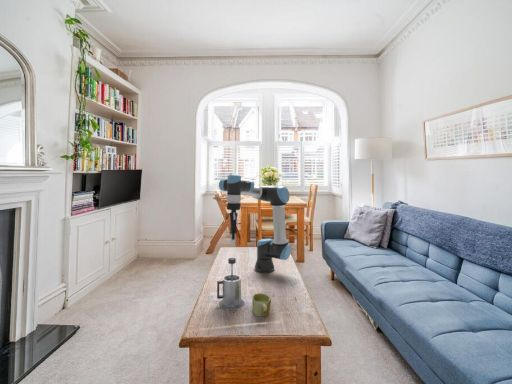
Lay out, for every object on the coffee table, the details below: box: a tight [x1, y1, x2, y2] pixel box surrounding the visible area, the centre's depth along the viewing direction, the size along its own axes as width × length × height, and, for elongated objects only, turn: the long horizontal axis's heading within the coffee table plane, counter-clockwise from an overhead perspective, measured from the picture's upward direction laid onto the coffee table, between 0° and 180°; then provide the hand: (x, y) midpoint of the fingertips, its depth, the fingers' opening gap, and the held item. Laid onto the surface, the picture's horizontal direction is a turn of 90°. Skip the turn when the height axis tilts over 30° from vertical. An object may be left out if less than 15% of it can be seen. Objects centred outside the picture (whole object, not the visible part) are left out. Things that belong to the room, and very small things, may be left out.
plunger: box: [227, 257, 237, 281], centre depth 136 cm, size 7×7×13 cm
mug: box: [251, 292, 272, 317], centre depth 127 cm, size 12×10×10 cm
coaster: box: [218, 298, 245, 311], centre depth 137 cm, size 14×14×1 cm
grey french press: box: [216, 274, 242, 308], centre depth 137 cm, size 13×10×14 cm
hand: (232, 244), depth 139 cm, fingers closed
